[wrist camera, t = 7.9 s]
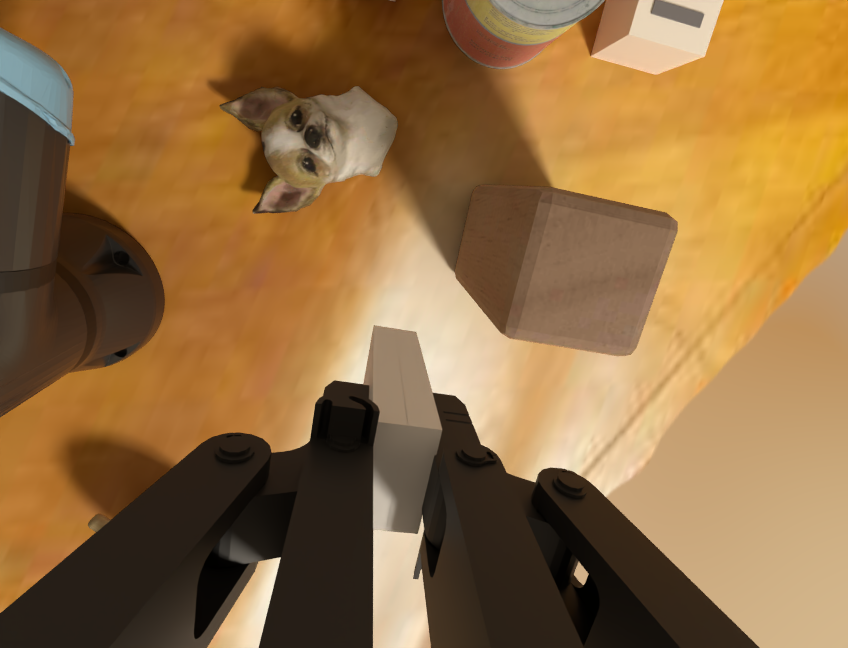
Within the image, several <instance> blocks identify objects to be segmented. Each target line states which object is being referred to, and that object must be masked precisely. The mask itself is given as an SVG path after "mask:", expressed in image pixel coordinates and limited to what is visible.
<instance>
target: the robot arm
mask: <svg viewBox="0 0 848 648" xmlns="http://www.w3.org/2000/svg"><path fill="white" fill-rule="evenodd" d="M72 111H73V87H72V84H71V81H70V79H69V77H68V75H67V73H66V72H65V71H64V69H63V68H62V67H61V66H60V65H59V64H58V63H57V62H56V61H55V60H54V59H53V58H51V57H50V56H49V55H47V54H46V53H44V52H43V51H42V50H40V49H38V48H37V47H35V46H33V45H32V44H30V43H28V42H26V41H25V40H23V39H21V38H19V37H17V36H15V35H13V34H11V33H10V32H8V31H6V30H4V29H2V28H0V417H1V416H3V415H5V414H6V413H8V412H9V411H11V410H12V409H14V408H15V407H17V406H18V405H20V404H21V403H23V402H24V401H26V400H28V399H29V398H31V397H32V396H34V395H35V394H37V393H38V392H40V391H41V390H43V389H44V388H46V387H47V386H49V385H51V384H52V383H54V382H55V381H57V380H58V379H60V378H61V377H63V376H64V375H66V374H67V373H70V372H77V371H84V370H90V369H97V368H102V367H106V366H110V365H113V364H115V363H118V362H120V361H122V360H124V359H126V358H128V357H129V356H131V355H132V354H133V353H135V352H136V351H138V350H139V349H141V348H142V347H143V346H144V345H146V344H147V343H148V342H149V341H150V339H151V338H152V337H153V336H154V334H155V333H156V331H157V329H158V327H159V325H160V323H161V320H162V317H163V312H164V302H165V299H164V290H163V285H162V281H161V278H160V275H159V273H158V271H157V268H156V266H155V265H154V263H153V261H152V260H151V258H150V257H149V255H148V254H147V253H146V251H145V250H144V249H143V248H142V247H141V246H140V245H139V244H138V243H137V242H136V241H135V240H134V239H133V238H132V237H131V236H129V235H128V234H127V233H125V232H124V231H122V230H121V229H119V228H118V227H116V226H114V225H112V224H110V223H108V222H106V221H104V220H101V219H98V218H95V217H92V216H88V215H83V214H77V213H63V205H64V196H65V187H66V178H67V169H68V160H69V151H70V146H74V142H75V138H74V135H73V134H72V132H71V128H72ZM422 515H423V523H424V533H423V537H422V541H421V545H420V549H419V554H418V558H417V562H416V566H415V570H414V577H413V579H418V578H419V574H420V570H421V569H422V573H423V582H424V590H425V599H426V607H427V616H428V625H429V633H430V642H431V648H759V647H758V646H757V645H756V644H755V643H754V642H753V641H752V640H751V639H750V638H749V637H748V636H747V635H746V634H745V633H744V632H743V631H742V630H741V629H740V628H739V627H738V626H737V625H736V624H735V623H734V622H733V621H732V620H731V619H729V618H728V617H727V615H726V614H724V613H723V612H722V611H721V610H720V609H719V608H718V607H717V606H716V605H715V604H714V603H713V602H712V601H711V600H710V599H709V598H708V597H707V596H706V595H705V594H704V593H703V592H702V591H701V590H700V589H699V588H698V587H697V586H696V585H695V584H694V583H693V582H691V580H690V579H689V578H687V576H686V575H685V574H684V573H683V572H682V571H681V570H679V569H678V567H676V566H675V565H674V564H673V563H672V562H671V561H670V560H669V559H668V558H667V557H666V556H665V555H664V554H663V553H662V552H661V551H660V550H659V549H658V548H657V547H656V546H655V545H654V544H653V543H652V542H651V541H650V540H649V539H648V538H647V537H646V536H645V535H644V534H643V533H642V532H641V531H640V530H639V529H638V528H637V527H636V526H635V525H633V523H631V522H630V521H629V520H628V519H627V518H626V517H625V516H624V515H623V514H622V513H621V512H620V511H619V510H618V509H617V508H616V507H615V506H614V505H613V504H612V503H611V502H610V501H609V500H608V499H607V498H606V497H605V496H604V495H603V494H602V493H601V492H600V491H599V490H598V489H597V488H596V487H595V486H594V485H592V484H591V483H590V482H589V481H587V480H586V479H585V478H583V477H581V476H579V475H577V474H576V473H575V472H572V471H570V470H568V471H567V470H566V469H561V468H547V469H543V470H542V471H541V472H540V473H539V474H538V477H537V480H536V483H535V482H531V481H528V480H525V479H522V478H519V477H516V476H513V475H511V474H508V473H506V471H505V468H504V466H503V464H502V462H501V460H500V458H499V457H498V456H497V454H496V453H494V452H493V451H491V450H490V449H489V448H487V447H485V446H483V445H481V444H480V441H479V439H478V436H477V434H476V431H475V429H474V426H473V424H472V421H471V419H470V417H469V414H468V411H467V409H466V406H465V405H464V404H463V403H462V402H461V401H460V400H459V399H458V398H457V397H456V396H452V395H445V394H438V393H432V389H431V386H430V382H429V378H428V374H427V371H426V367H425V363H424V359H423V356H422V352H421V348H420V344H419V341H418V337H417V333H416V332H412V331H406V330H400V329H394V328H387V327H381V326H375V325H374V327H373V333H372V339H371V344H370V350H369V356H368V361H367V367H366V373H365V378H364V384H356V383H349V382H341V381H333V382H332V383H330V384H329V385H328V386H326V387H325V390H324V394H323V396H322V397H320V398H319V399H318V401H317V402H316V404H315V410H314V417H313V424H312V431H311V438H310V441H309V442H308V443H307V444H306V445H304V446H302V447H300V448H297V449H294V450H291V451H285V452H276V453H271V449H270V445H269V444H268V443H267V442H266V441H265V440H263V439H262V438H259V437H257V436H254V435H252V434H245V433H226V434H222V435H218V436H214V437H212V438H210V439H208V440H206V441H205V442H203V443H201V444H200V445H199V446H198V447H197V448H196V449H194V450H193V451H192V452H191V453H190V454H188V455H187V456H186V457H185V458H184V459H183V460H181V461H180V462H179V463H178V464H177V465H175V466H174V467H173V468H172V469H171V470H169V471H168V472H167V473H166V474H165V475H164V476H162V477H161V478H160V479H159V480H158V481H156V482H155V483H154V484H153V485H152V486H151V487H149V488H148V489H147V490H146V491H145V492H143V493H142V494H141V495H140V496H139V497H138V498H136V499H135V500H134V501H133V502H132V503H130V504H129V505H128V506H127V507H126V508H125V509H123V510H122V511H121V512H120V513H119V514H117V515H116V516H115V517H114V518H113V519H111V520H110V521H109V522H108V523H107V524H106V525H104V526H103V527H102V528H101V529H100V530H98V531H97V532H96V533H95V534H94V535H93V536H91V537H90V538H89V539H88V540H87V541H85V542H84V543H83V544H82V545H81V546H80V547H78V548H77V549H76V550H75V551H74V552H72V553H71V554H70V555H69V556H68V557H66V558H65V559H64V560H63V561H62V562H61V563H59V564H58V565H57V566H56V567H55V568H53V569H52V570H51V571H50V572H49V573H48V574H46V575H45V576H44V577H43V578H42V579H40V580H39V581H38V582H37V583H36V584H35V585H33V586H32V587H31V588H30V589H29V590H27V591H26V592H25V593H24V594H23V595H22V596H20V597H19V598H18V599H17V600H16V601H14V602H13V603H12V604H11V605H10V606H8V607H7V608H6V609H5V610H4V611H3V612H1V613H0V648H207V647H208V645H209V643H210V642H211V640H212V639H213V637H214V635H215V634H216V632H217V631H218V629H219V627H220V626H221V624H222V623H223V621H224V619H225V618H226V616H227V615H228V613H229V612H230V610H231V608H232V607H233V605H234V604H235V602H236V600H237V599H238V597H239V596H240V594H241V592H242V591H243V589H244V588H245V586H246V584H247V583H248V581H249V580H250V578H251V576H252V575H253V573H254V572H255V569H256V566H257V564H258V561H262V560H267V559H273V558H278V557H281V560H280V564H279V568H278V572H277V576H276V580H275V584H274V588H273V592H272V596H271V600H270V604H269V608H268V612H267V616H266V620H265V624H264V628H263V633H262V637H261V641H260V645H259V648H373V530H382V531H393V532H404V533H415V534H418V530H419V526H420V522H421V518H422ZM578 561H579V562H580V563H581V565H582V566H583V567H584V568H585V570H586V571H587V572H588V573H589V575H588V577H587V580H586V583H585V584H584V585H582V584H581V583H580V582H579V581H578V580H577V578H576V577H575V576H574V572H575V569H576V566H577V564H578Z"/></svg>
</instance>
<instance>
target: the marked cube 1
mask: <svg viewBox="0 0 848 648" xmlns="http://www.w3.org/2000/svg"><path fill="white" fill-rule="evenodd" d="M723 1H724V0H606V3H605V6H604V10H603V13H602V17H601V21H600V24H599V28H598V32H597V35H596V39H595V42H594V46H593V50H592V53H591V57H594V58H598V59H601V60H605V61H608V62H612V63H616V64H619V65H623V66H626V67H630V68H634V69H637V70H641V71H644V72H648V73H652V74H655V75H657V74H659V73H662V72H665V71H667V70H670V69H673V68H675V67H678V66H681V65H683V64H686V63H689V62H691V61H694V60H697V59H699V58H702V57H705V54H706V51H707V48H708V45H709V42H710V39H711V36H712V33H713V30H714V27H715V24H716V21H717V18H718V15H719V12H720V9H721V6H722V4H723Z"/></svg>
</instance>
